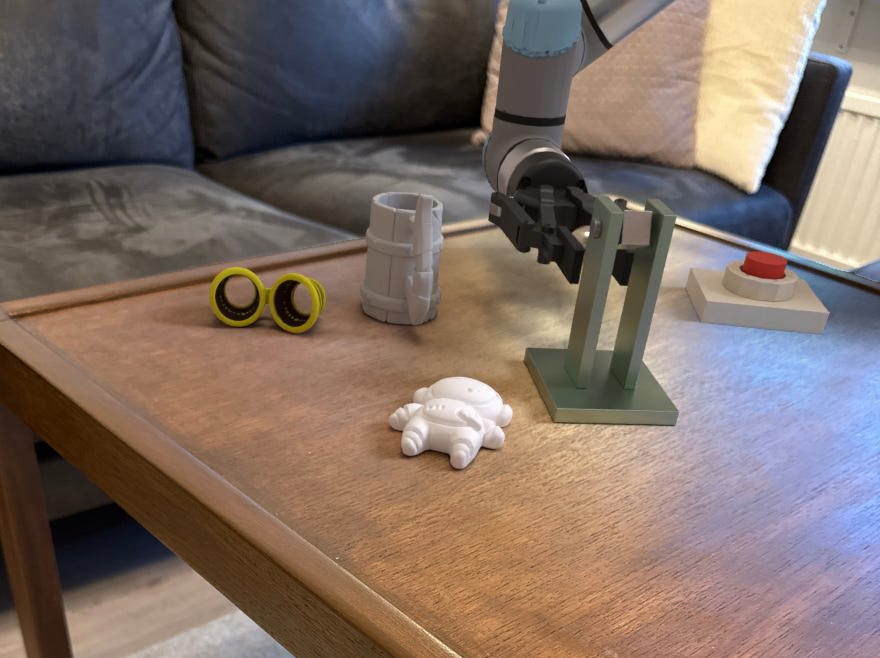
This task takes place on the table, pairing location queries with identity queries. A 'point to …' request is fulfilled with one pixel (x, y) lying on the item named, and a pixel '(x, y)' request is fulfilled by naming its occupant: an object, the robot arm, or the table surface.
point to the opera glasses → (267, 300)
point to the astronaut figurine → (453, 419)
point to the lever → (625, 231)
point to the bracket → (620, 370)
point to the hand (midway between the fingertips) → (602, 268)
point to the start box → (755, 300)
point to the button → (764, 265)
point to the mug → (403, 258)
